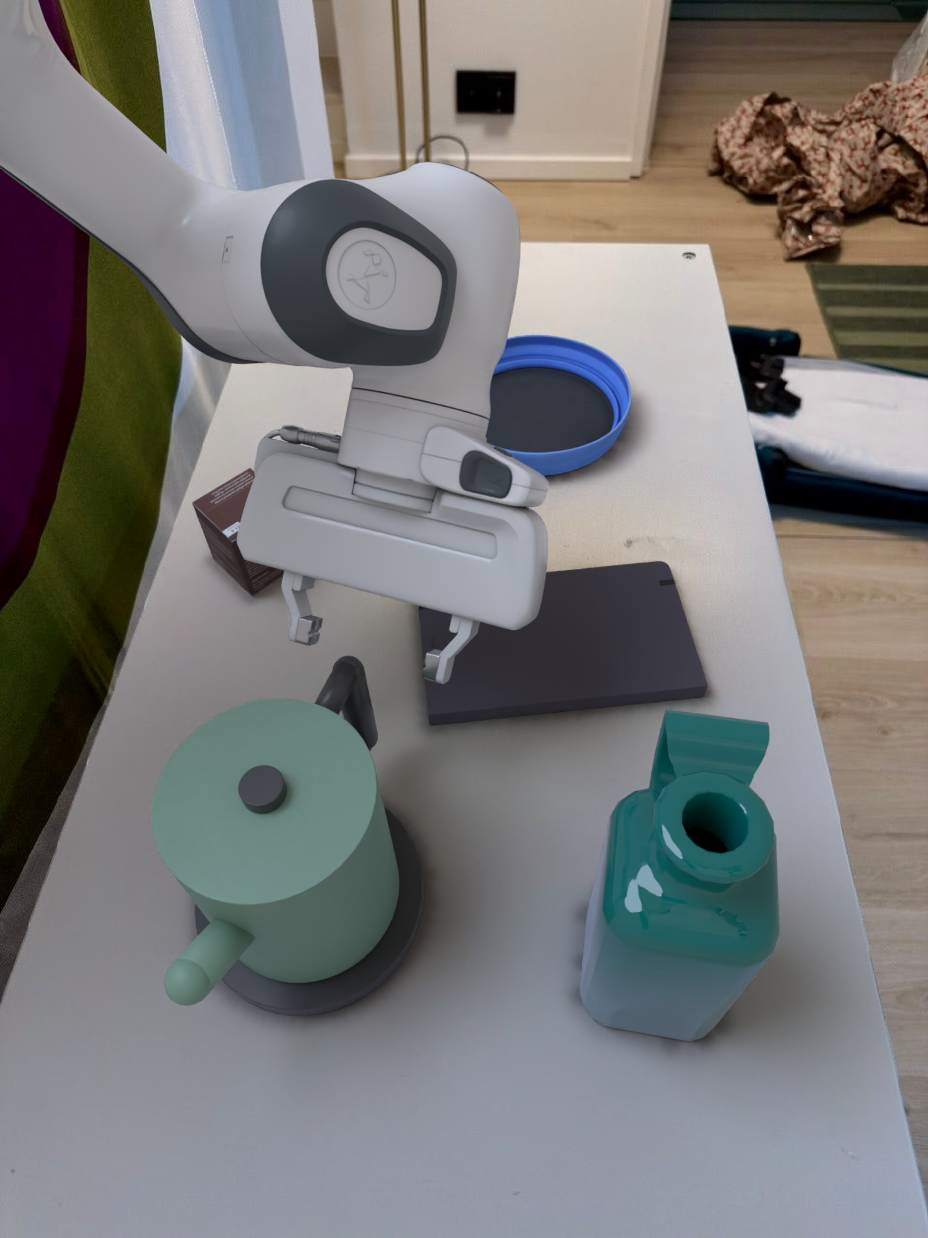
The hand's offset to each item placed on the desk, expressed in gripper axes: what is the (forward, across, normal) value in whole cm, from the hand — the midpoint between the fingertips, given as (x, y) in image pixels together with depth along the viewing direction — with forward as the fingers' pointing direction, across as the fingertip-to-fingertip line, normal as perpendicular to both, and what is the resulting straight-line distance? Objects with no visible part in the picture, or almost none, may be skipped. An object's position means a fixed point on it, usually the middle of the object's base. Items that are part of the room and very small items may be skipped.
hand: (368, 661), depth 59 cm
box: (-2, -17, +17) cm, 24 cm away
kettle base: (+16, 0, -1) cm, 17 cm away
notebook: (-1, +10, +17) cm, 19 cm away
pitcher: (+14, +22, +2) cm, 26 cm away
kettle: (+15, 0, -2) cm, 15 cm away
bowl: (-20, 0, +35) cm, 40 cm away
